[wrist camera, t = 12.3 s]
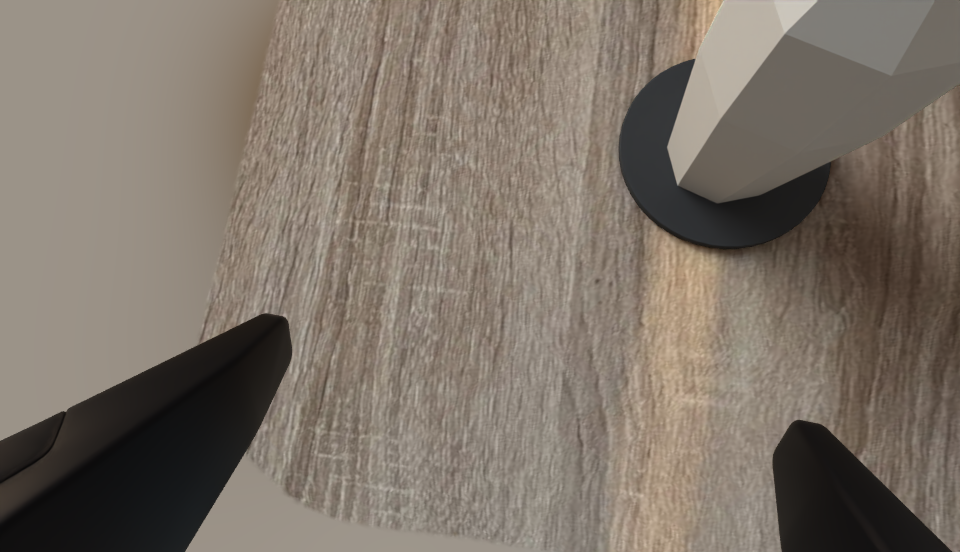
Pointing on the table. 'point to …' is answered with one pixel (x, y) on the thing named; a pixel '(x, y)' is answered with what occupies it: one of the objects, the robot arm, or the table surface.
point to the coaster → (686, 210)
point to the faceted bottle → (806, 87)
